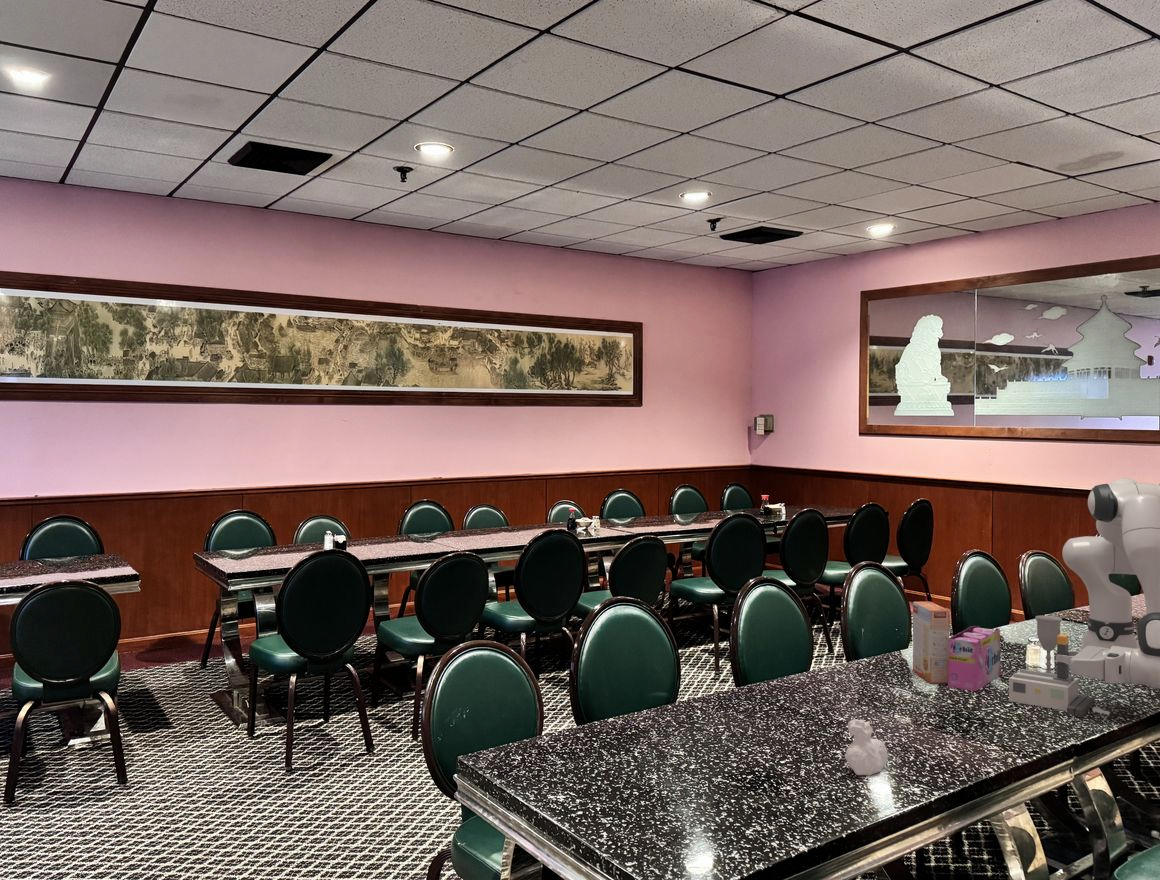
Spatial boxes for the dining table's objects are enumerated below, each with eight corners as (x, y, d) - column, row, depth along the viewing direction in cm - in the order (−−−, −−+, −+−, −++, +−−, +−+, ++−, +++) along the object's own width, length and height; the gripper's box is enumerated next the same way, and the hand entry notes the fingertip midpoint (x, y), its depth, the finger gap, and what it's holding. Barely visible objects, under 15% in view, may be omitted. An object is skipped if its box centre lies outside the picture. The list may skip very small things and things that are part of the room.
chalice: (1059, 686, 254) (1059, 621, 254) (1032, 682, 259) (1032, 618, 258) (1064, 680, 260) (1064, 617, 260) (1038, 676, 264) (1038, 614, 264)
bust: (881, 773, 195) (854, 724, 201) (905, 760, 191) (877, 709, 196) (845, 786, 188) (818, 734, 194) (870, 772, 183) (842, 720, 189)
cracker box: (950, 684, 257) (950, 609, 257) (929, 684, 257) (929, 609, 257) (932, 671, 271) (932, 600, 271) (912, 671, 271) (912, 600, 271)
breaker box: (1020, 692, 249) (1020, 667, 249) (1078, 701, 240) (1078, 675, 240) (1008, 701, 240) (1008, 675, 240) (1067, 711, 231) (1067, 684, 231)
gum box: (974, 669, 273) (974, 624, 273) (1003, 674, 268) (1003, 627, 268) (947, 686, 255) (947, 638, 255) (976, 691, 250) (976, 642, 249)
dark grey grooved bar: (1081, 699, 241) (1081, 693, 241) (1096, 702, 239) (1096, 696, 239) (1067, 713, 229) (1067, 707, 229) (1082, 716, 227) (1082, 710, 227)
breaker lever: (1057, 678, 240) (1057, 633, 240) (1072, 680, 238) (1072, 635, 238) (1053, 681, 237) (1053, 636, 237) (1068, 684, 234) (1068, 638, 234)
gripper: (1127, 644, 237) (1068, 636, 246) (1111, 659, 221) (1048, 650, 230) (1127, 668, 237) (1068, 660, 246) (1111, 685, 221) (1048, 675, 230)
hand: (1058, 655), depth 238 cm, fingers closed on breaker lever, 3 cm apart
